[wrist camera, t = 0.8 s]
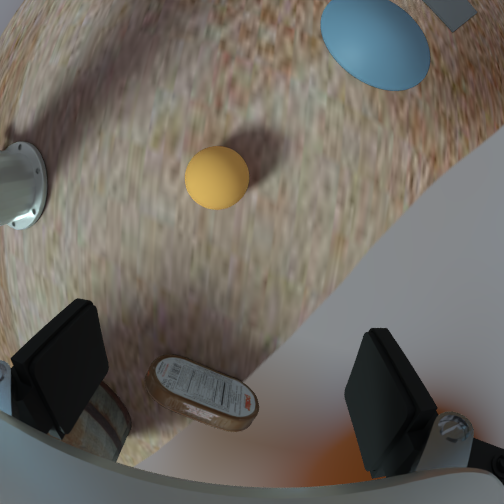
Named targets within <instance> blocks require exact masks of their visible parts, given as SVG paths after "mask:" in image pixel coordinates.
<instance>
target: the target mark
mask: <svg viewBox="0 0 504 504" xmlns="http://www.w3.org/2000/svg"><path fill="white" fill-rule="evenodd" d="M321 33H322V37H323V40H324V42H325V44H326V47H327V48H328V50H329V52H330V53H331V55H332V56H333V57H334V59H335V60H336V61H337V62H338V63H339V64H340V65H341V66H342V67H343V68H344V69H345V70H346V71H347V72H348V73H350V74H351V75H353V76H354V77H355V78H357V79H359V80H360V81H362V82H364V83H366V84H368V85H371V86H373V87H376V88H380V89H383V90H390V91H400V90H406V89H409V88H412V87H414V86H416V85H417V84H418V83H420V82H421V81H422V80H423V79H424V77H425V76H426V74H427V72H428V69H429V65H430V51H429V47H428V43H427V41H426V38H425V36H424V34H423V32H422V30H421V29H420V27H419V26H418V25H417V23H416V22H415V21H414V20H413V19H412V17H411V16H410V15H409V14H407V13H406V12H405V11H404V10H403V9H401V8H400V7H399V6H397V5H396V4H394V3H392V2H391V1H389V0H332V1H331V2H330V3H329V4H328V5H327V6H326V8H325V9H324V11H323V14H322V17H321Z"/></svg>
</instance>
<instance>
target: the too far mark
mask: <svg viewBox="0 0 504 504" xmlns="http://www.w3.org/2000/svg"><path fill="white" fill-rule="evenodd" d="M423 1H424V2H425V3H426V4H427V5H428V6H429V7H430V8H431V9H432V10H433V11H434V13H435V14H436V15H437V16H438V17H439V18H440V19H441V20H442V21H443V22H444V23H445V25H446V26H447V27H448V28H449V29H450V30H451V31H452V32H454V31H455V30H456V29H457V28H459V27H460V26H461V25H462V24H464V23H465V22H466V21H467V20H469V19H470V18H471V17H472V16H474V15H475V14H476V13H477V11H476V10H475V9H474V8H473V7H472V5H471V4H470V3H469V2H468V1H467V0H423Z"/></svg>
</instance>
